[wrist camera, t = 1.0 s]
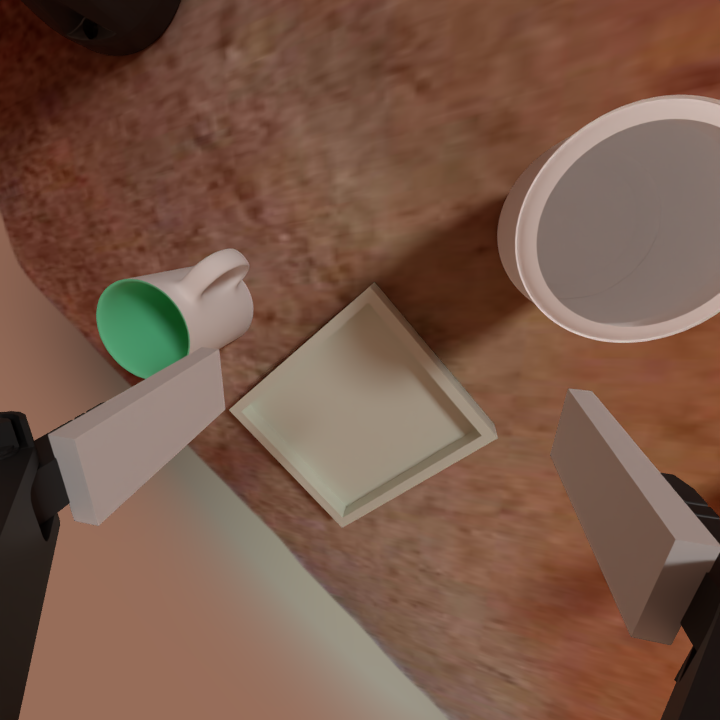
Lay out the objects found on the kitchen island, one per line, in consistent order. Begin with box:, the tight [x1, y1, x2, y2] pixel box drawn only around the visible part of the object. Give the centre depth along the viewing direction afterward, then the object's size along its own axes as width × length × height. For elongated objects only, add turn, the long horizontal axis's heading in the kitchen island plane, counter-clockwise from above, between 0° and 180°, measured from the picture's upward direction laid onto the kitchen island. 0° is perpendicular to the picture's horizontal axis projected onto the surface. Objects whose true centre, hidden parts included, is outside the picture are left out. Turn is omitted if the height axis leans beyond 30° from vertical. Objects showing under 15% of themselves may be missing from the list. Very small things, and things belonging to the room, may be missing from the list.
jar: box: [497, 95, 720, 343], centre depth 24 cm, size 11×10×15 cm
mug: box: [96, 249, 253, 379], centre depth 33 cm, size 12×8×10 cm, turn 136°
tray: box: [229, 282, 498, 528], centre depth 39 cm, size 18×20×2 cm
